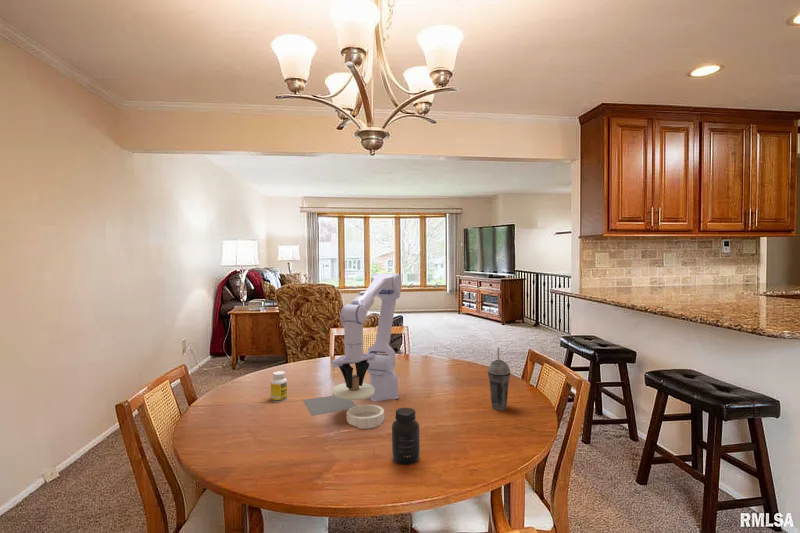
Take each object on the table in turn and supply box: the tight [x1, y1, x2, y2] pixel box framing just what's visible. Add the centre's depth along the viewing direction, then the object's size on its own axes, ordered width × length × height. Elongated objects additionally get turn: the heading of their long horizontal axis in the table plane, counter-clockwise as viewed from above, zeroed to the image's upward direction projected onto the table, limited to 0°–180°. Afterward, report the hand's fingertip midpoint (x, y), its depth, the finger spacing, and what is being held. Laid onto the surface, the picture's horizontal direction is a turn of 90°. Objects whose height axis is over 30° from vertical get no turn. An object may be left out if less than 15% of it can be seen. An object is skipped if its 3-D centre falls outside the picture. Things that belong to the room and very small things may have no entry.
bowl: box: [346, 403, 385, 430], centre depth 124 cm, size 11×11×3 cm
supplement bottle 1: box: [270, 370, 288, 403], centre depth 142 cm, size 5×5×10 cm
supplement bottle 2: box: [391, 407, 421, 466], centre depth 101 cm, size 7×7×12 cm
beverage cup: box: [487, 347, 512, 411], centre depth 133 cm, size 7×7×20 cm
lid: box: [332, 374, 375, 401], centre depth 128 cm, size 13×13×5 cm
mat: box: [303, 394, 357, 416], centre depth 137 cm, size 15×15×1 cm
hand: (354, 386), depth 128 cm, fingers closed on lid, 3 cm apart
